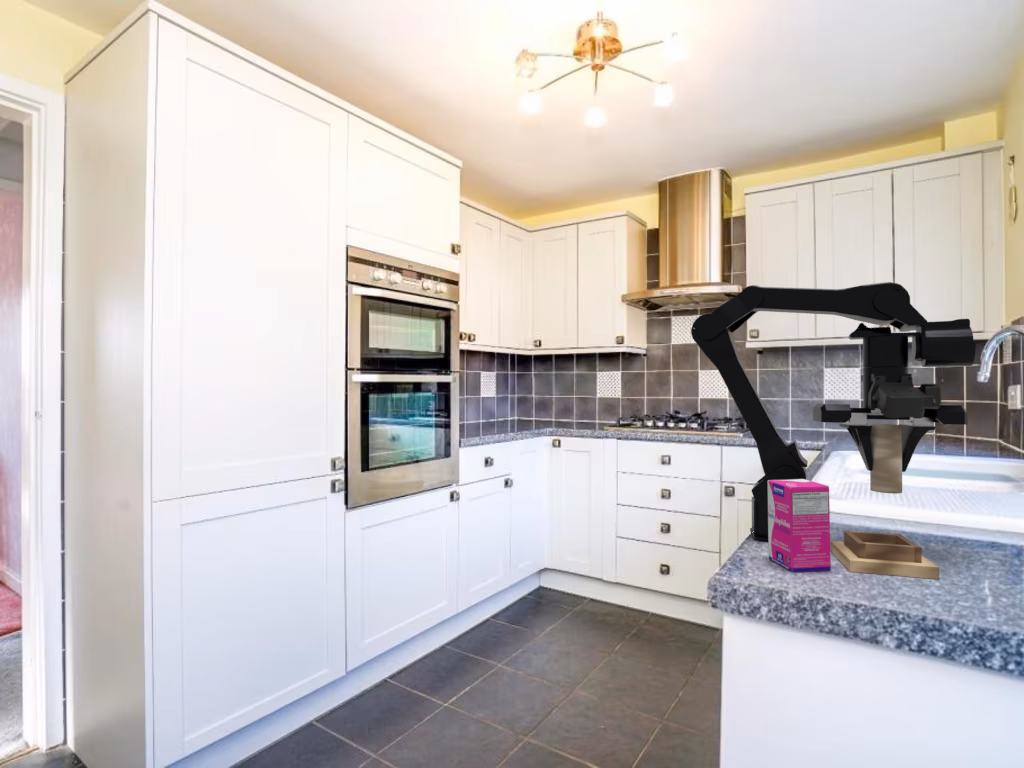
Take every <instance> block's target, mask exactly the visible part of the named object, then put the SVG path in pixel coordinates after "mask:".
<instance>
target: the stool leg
mask: <svg viewBox="0 0 1024 768" xmlns="http://www.w3.org/2000/svg"><path fill="white" fill-rule="evenodd" d="M869 425H870V426H872V430H871V436H870V437H871V448H872V458H873V467H872V471H869V472H870V473H869V474H870V477H869V478H870V486H869V487H870V491H872V492H876V493H881V494H893V495H894V494H896V495H897V494H903V472H902V425H899V424H887V423H886V424H885V423H870V424H869Z"/></svg>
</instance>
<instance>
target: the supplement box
mask: <svg viewBox="0 0 1024 768" xmlns="http://www.w3.org/2000/svg"><path fill="white" fill-rule="evenodd" d="M830 510H831V509H830V486H829V485H827V484H823V483H819V482H816V481H812V480H809V479H806V480H805V479H792V480H768V559H769V560H770V561H771V562H774V563H776V564H778V565H779V566H782V567H783V568H785V569H786V570H788V571H790V572H792V573H799V572H800V573H803V572H805V573H806V572H807V573H808V572H831V571H832V569H831V568H832V565H831V561H832V560H831V522H830V520H831V519H830V518H831V517H830V513H831V512H830Z"/></svg>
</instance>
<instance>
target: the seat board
mask: <svg viewBox="0 0 1024 768" xmlns="http://www.w3.org/2000/svg"><path fill="white" fill-rule="evenodd" d="M830 553H832V554H833V556H835V557H836V558H837V560H839V561H840V563H841V564H843V566H844V567H845V568H846V569H847V570H848V572H850V573H862V574H875V575H884V576H885V575H886V576H898V577H910V578H919V579H921V578H922V579H933V580H940V567H939V566H938V565H937V564H935V563H933V562H932V561H930V560H929V559H927V558H926V557H924V556H923V555H922V554H923V553H922V547H921V546H919V545H918V544H916V543H914V542H913V541H912V540H910V539H909V538H907V537H905V536H904V535H903V534H900V533H887V532H873V531H872V532H870V531H869V532H868V531H854V530H843V541H838V540H837V541H836V540H835V541H834V540H830Z"/></svg>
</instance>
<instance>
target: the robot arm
mask: <svg viewBox="0 0 1024 768" xmlns="http://www.w3.org/2000/svg"><path fill="white" fill-rule="evenodd" d="M758 312H774V313H788V314H789V313H790V314H792V313H794V314H810V315H811V314H815V315H828V316H829V315H831V316H839V317H843V318H846V319H850V320H853V321H857V322H858V321H859V322H860V323H859V324H858V326H857V328H856V329H854V331H852V332H851V333H849V335H848V339H849V340H852V341H853V340H857V341H858V340H862V374H861V375H860V382H862V385H863V386H862V400H861V403H860V404H861V405H860V406H861V407H851V405H850V403H816V404H815V405H814V406H813V410H812V420H813V421H814V422H819V423H839V427H841V428H845V429H846V430H847V431H848V433H849V435H850V437H851V438H852V440H853V442H854V443H855V446H856V447H857V450H858V452H859V454H860V456H861V458H862V461H863V463H864V465H865V469H866V470H867V471H869V472H870V471H872V467H873V458H872V448H871V437H870V436H871V430H872V426H870V424H868V420H890V421H891V420H892V421H893V420H896V421H900V420H902V421H903V424H901V423H899V424H898V425H902V473H905V472H906V471H907V469H908V467H909V464H910V463H911V459H912V458H913V455H914V452H915V450H916V448H917V446H918V444H919V443H920V441H921V439H922V438H923V437H924V435H926V434H927V433H928V432H929V431H936V430H937V426H934V425H933V423H939V424H941V425H958V426H959V425H961V426H962V425H963V426H964V425H965V426H967V425H968V412H967V410H966V408H965V407H964V406H962V405H961V404H942V386H940V385H939V384H938V383H921V384H920V386H915V385H914V384H913V383H914V382H913V377H912V373H909V338H911V355H912V356H911V357H912V361H916V362H920V365H921V366H922V368H939V367H941V368H944V367H946V368H947V367H951V368H952V367H953V368H955V367H956V368H957V367H972V366H973V365H974V362H975V357H976V348H977V347H976V339H974V333H973V330H972V327H971V320H970V319H969V318H957V319H953V320H944V321H943V320H942V321H937V320H936V321H928V320H927V319H926V317H924V316H923V315H922V314H921V313H920V311H918V310H917V308H915V306H913V305H912V304H911V295H910V294H909V292H908V290H907V289H906V288H905V287H904V286H903V285H901V284H900V283H898V282H897V283H896V282H890V281H888V282H885V281H884V282H879V283H878V282H876V283H869V284H863V285H862V284H861V285H857V286H852V287H846V288H836V289H835V288H833V289H832V288H809V287H808V288H805V287H801V288H800V287H772V286H760V285H755V284H752V285H748V286H746V287H744V288H743V289H742V290H741V291H740V292H739V293H738V294H736V295H735V296H734V297H732V298H731V299H729V300H728V301H726V302H724V303H723V304H721V305H720V306H718V307H717V308H716V309H714V310H713V311H712V312H711V313H704V314H702V315H700V316H698V317H697V318H696V319H695V320H694V321H693V323H692V326H691V329H690V334H691V337H692V339H693V341H694V342H695V344H696V345H697V346H698V347H699V349H700V350H701V352H702V353H703V354H704V355H705V356H706V357H707V358H708V360H709V361H710V362H711V363H712V364H713V365H714V366H715V368H716V369H717V371H718V373H719V375H720V376H721V378H722V380H723V382H724V384H725V386H726V388H727V390H728V391H729V393H730V396H731V397H732V399H733V400H734V401H733V402H734V403H735V405H736V407H737V409H738V411H739V413H740V415H741V416H742V418H743V421H744V422H745V423H746V426H747V428H748V429H749V432H750V434H751V436H752V437H753V439H754V441H755V443H756V444H755V445H756V448H757V451H758V454H759V459H760V462H761V467H762V470H763V474H764V475H763V476H762V477H761V478H759V480H757V481H756V482H755V483H754V486H753V487H752V489H751V494H752V496H751V527H750V528H749V531H750V534H751V533H752V532H753V531H754V532H753V533H752V534H751V536H752V538H753V539H754V540H756V541H765V542H767V541H768V480H792V479H805V480H807V475H808V474H807V473H808V472H807V468H808V460H807V459H806V458H805V457H803V455H802V454H801V451H800V448H799V445H798V442H797V440H796V439H794V440H792V441H790V442H789V443H788V442H787V441H786V440H785V439H784V438H783V436H782V435H781V434H780V433H779V431H778V429H777V427H776V425H775V424H774V421H773V420H772V417H771V416H770V414H769V412H768V411H767V408H766V407H765V405H764V402H763V401H762V399H761V397H760V396H759V394H758V391H757V389H756V388H755V386H754V384H753V382H752V381H751V378H750V377H749V375H748V373H747V371H746V369H745V367H744V365H743V364H742V362H741V358H740V356H739V352H738V347H737V344H736V340H735V337H734V334H733V333H735V332H736V331H738V330H739V329H740V328H741V327H742V326H743V325H744V324H745V323H746V322H747V321H748V320H750V319H751V318H752V317H753V316H754V315H755V314H756V313H758ZM865 323H868V324H872V325H878V326H877V327H868V326H867V325H866V324H865ZM883 325H884V326H883ZM885 325H886V326H885ZM887 325H889V326H887ZM879 326H880V327H879ZM890 326H891V327H893V328H896V330H900V331H902V332H892V329H891V327H890ZM907 331H909V332H907ZM910 331H911V332H910ZM914 331H915V332H914ZM876 409H877V410H878V409H879V411H880V412H877V411H876V412H873V411H875V410H876Z"/></svg>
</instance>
